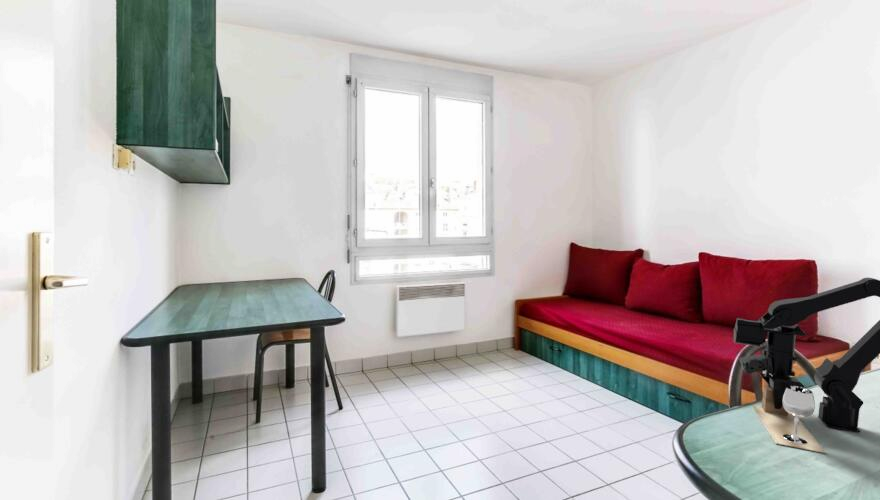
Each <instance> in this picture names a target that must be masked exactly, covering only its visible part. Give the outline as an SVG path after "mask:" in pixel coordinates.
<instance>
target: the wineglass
mask: <svg viewBox="0 0 880 500" xmlns="http://www.w3.org/2000/svg"><path fill="white" fill-rule="evenodd" d="M782 404H783V407H784V409H785V410H786V411H787V412H788V413H789V414H791V415H793V416H795V418H794V424H795V429H794V434H793V435H791V434H784V435H783V438H784V439H786V440H788V441H790V442H793V443H796V444H807V441H806V440H805V439H803V438H801V437H798V436H797V426H798V424H799V420H800V418H808V417H811V416H812V415H813V414H814V412H815V407H816V406H815V405H816V404H815V397H814V393H813V391H812V390H811V389H808V388H806V387H805V388H803V387H798V386H787V388H786V390H785V392H784V395H783V399H782Z"/></svg>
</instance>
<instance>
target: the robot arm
mask: <svg viewBox="0 0 880 500" xmlns="http://www.w3.org/2000/svg"><path fill="white" fill-rule="evenodd" d="M870 297H878V298H880V279H877V278H873V277H863V278H862V279H860V280H857V281H853V282H851V283H848V284H845V285H840V286H837V287H835V288H831V289H828V290H826V291H822V292H819V293H816V294H813V295H809V296H806V297H795V298H787V299H781V300H775V301H773V302H771V304H769V307H768V309H767V311H766V313H765V314H764V315H762V316H761V317H760V318H758V320H751V319H750V320H749V319H744V318H740V317H738V318H736V322H735V325H734V328H733V343H734V344H739V345H748V346H753V347H754V346H755V347H760V346H761V345H764V344H766V343H767V344H766V348H764V349H763V350H762V354H753V355H748V356H741V357H739V359H738V360H739V362H740V365H741V368H742V370H743V371H744V373H745V374H747V375H748V374H749V375H750V374H753V373H759V375H760V377H761V378H762V379H763V380H764V381H765V382H766V385H767V386H766V387H771V388H772V391H773V400H774V408H775V409H780V408H781V407H782V406H783V404H782V399H783V395H784V392H785V390H786V388H787V386H798V387H803V388H806V387H805V385H804V384H803V383H802V382H801V381H800V380H799V379H798V378H797V377H796V372H795V371H794V370H793V368H794V362H795V361H797V356H796V355H795V346H796V338H797V337H796V336H800V337H801V336H802V337H805V336H807V333H806V332H805V331H804V330H803V329H802V328H801V327H800V325H798V324H799V323H800V322H803V321H805V320H807V319H808V318H809V317H812V316H813V315H814V314H817V313H819V312H822V311H826V310H830V309H833V308H836V307H839V306H843V305H846V304H850V303H853V302H856V301H861V300H863V299H866V298H870ZM766 339H767V341H766ZM879 355H880V319H879V320H878V321H877V322H876V323H875V324H874V325H873V326H871V328H869V330H868V331H867V332H866V333H865V334H864V335H862V336H861V338H860V339H858V341H857V342H856V343H855V344H853V346H851V347H850V348H849V350H848V351H847V352H846V353H845V354H844V355H842V356H841V357H840V358H838V359H835V360H833V361H832V360H830V359H829V358H825V359H824V360H823V362H822V363H821V364H820V366H817V367H816V368H814V370H815V373H814V375H813V377H814V381H815V384H816V385H817V386H818V387H819V388H820V389H821V390H822V392H823V394H824V395H826V396H822V401H820V402H819V406H818V408H819V409H818V415H817V418H818V419H819V420H821V421H822V423H823V424H824V425H825V427H827V428H832V429H837V430H844V431H850V432H855V433H862V430H861V429H860V428H859V427H858V426H859V418H860V409H861V408H862V406H864V405H863V404H864V401H863V400H862V399H861V398H860V397H859V396H858V395H857V394H856V393H855V392H854V391H853V390H854V389H855V388H856V386H857V385H858V382H859V379H860V376H861V374H862V372H863V371H864V370H865V369H866V368H867V366H869V365H870V364H871V363H872V362H873V361H874V360H875V359H876V358H877V357H878V356H879ZM761 372H762V373H761Z"/></svg>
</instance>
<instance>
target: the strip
mask: <svg viewBox="0 0 880 500" xmlns="http://www.w3.org/2000/svg"><path fill="white" fill-rule="evenodd" d="M762 390H763V391H762V401H761V406H758V405H752V408H753V410H754V411H755V413H756V414H757V417H759V419H760V421H761V422H762V424H763V425H764V427H765V428H766V430H767V431H768V433H769V435H770V437H771V438H772V440H773V441H774V442H775V444H776V445H780V446H786V447H790V448H796V449H800V450H801V449H802V450H806V451H812V452H816V453H820V454H821V453H822V454H827V452H826V450H825V449H824V447H822V445H820V443H819V442H818V441H817V440H816V438H815V437H814V436H813V434H812V433H811V432H810V431H809V430H808V429H807V428H806V426H805V425H804V423H803V422H802V421H801V420H800V419H799V424H798V426H797V436H798V437H801V438H803V439H805V440H806V441H807V444H796V443H793V442H790V441H788V440H786V439H784V438H783V435H784V434H791V435H793V434H794V429H795V424H794V418H795V416H793V415H791V414H789V413H788V412H787V411H786V410H785V409H784V407H783V406H782V407H781V408H780V409H775V408H774V400H773V391H772V388H771V387H767V386H765V385H763V389H762Z"/></svg>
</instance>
